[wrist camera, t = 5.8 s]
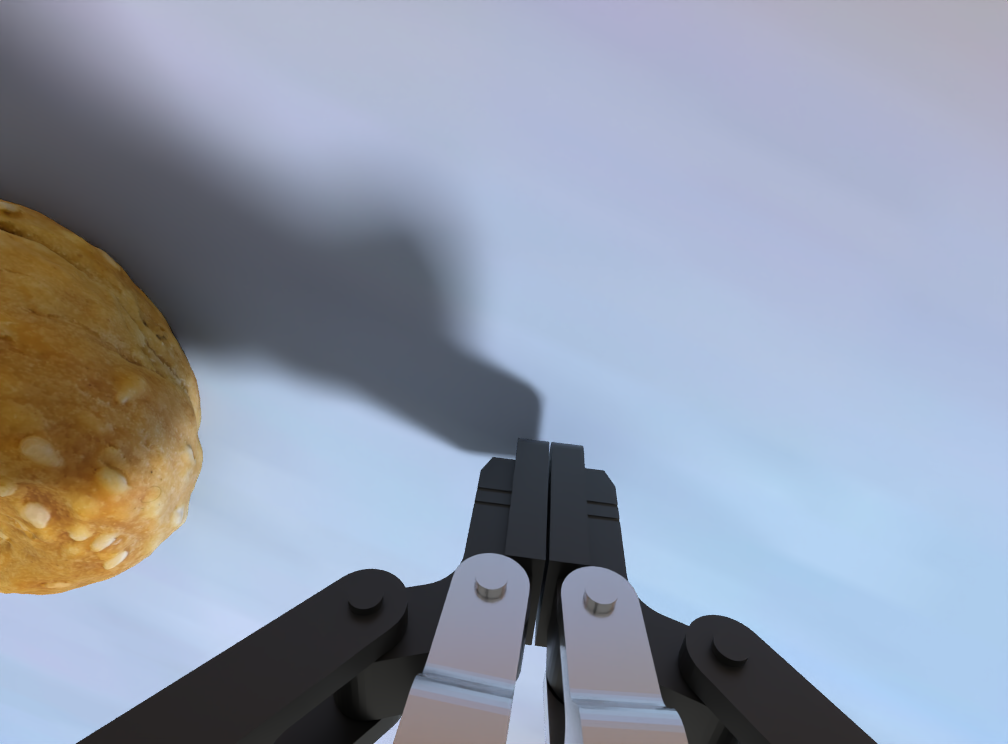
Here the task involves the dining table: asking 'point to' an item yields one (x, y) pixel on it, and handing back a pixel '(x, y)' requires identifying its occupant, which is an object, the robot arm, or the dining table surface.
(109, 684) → the dining table surface
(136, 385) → the bagel
